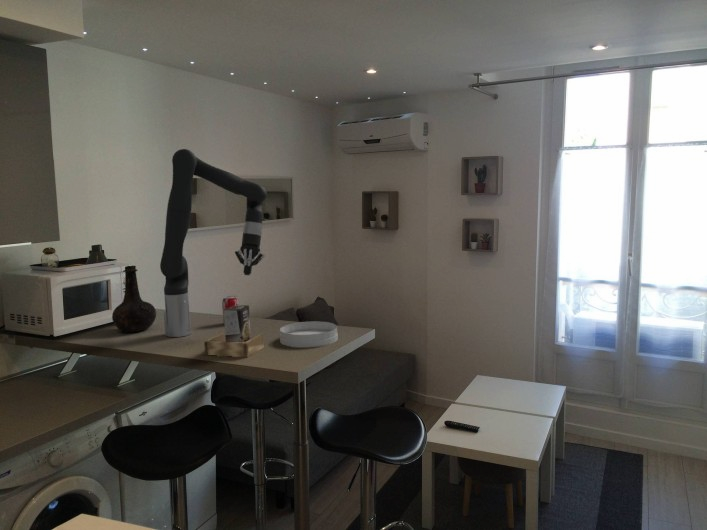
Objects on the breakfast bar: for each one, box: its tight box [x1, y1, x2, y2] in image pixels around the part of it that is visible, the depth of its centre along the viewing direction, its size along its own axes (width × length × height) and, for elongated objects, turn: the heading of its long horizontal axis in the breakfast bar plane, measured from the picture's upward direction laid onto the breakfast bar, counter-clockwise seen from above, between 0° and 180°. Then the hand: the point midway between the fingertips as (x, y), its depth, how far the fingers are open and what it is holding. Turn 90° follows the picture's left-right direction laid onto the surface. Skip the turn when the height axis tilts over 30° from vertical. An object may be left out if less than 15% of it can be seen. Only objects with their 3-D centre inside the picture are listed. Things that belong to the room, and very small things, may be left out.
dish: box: [279, 320, 339, 348], centre depth 213 cm, size 22×22×5 cm
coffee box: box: [224, 304, 252, 342], centre depth 199 cm, size 9×6×16 cm
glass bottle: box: [111, 265, 157, 333], centre depth 239 cm, size 18×18×28 cm
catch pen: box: [203, 332, 265, 358], centre depth 200 cm, size 16×13×5 cm
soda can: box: [221, 295, 240, 324], centre depth 246 cm, size 7×7×12 cm
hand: (247, 275), depth 230 cm, fingers closed
